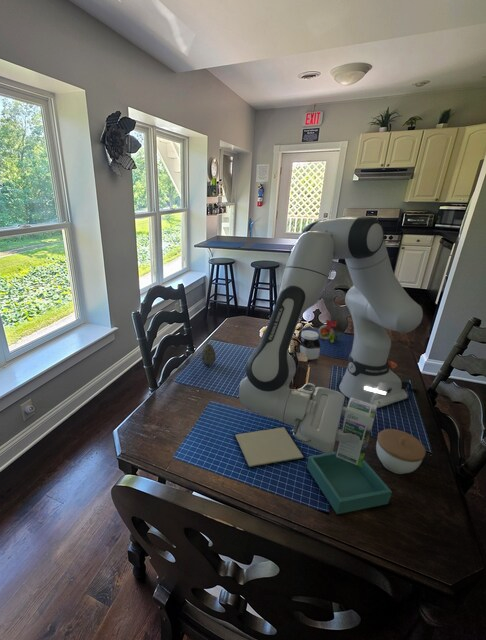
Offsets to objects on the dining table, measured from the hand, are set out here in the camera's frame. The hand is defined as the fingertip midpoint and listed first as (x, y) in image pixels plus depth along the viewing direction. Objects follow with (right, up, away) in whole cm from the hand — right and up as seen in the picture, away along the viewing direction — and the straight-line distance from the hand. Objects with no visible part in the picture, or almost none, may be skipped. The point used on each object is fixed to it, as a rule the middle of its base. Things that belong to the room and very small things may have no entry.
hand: (361, 428), depth 75 cm
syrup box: (-1, -8, +4) cm, 9 cm away
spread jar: (+10, +9, +67) cm, 68 cm away
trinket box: (+16, -14, +13) cm, 25 cm away
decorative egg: (-32, +6, +62) cm, 70 cm away
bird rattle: (+28, +15, +81) cm, 87 cm away
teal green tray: (0, -17, +7) cm, 18 cm away
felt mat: (-17, -12, +19) cm, 28 cm away
